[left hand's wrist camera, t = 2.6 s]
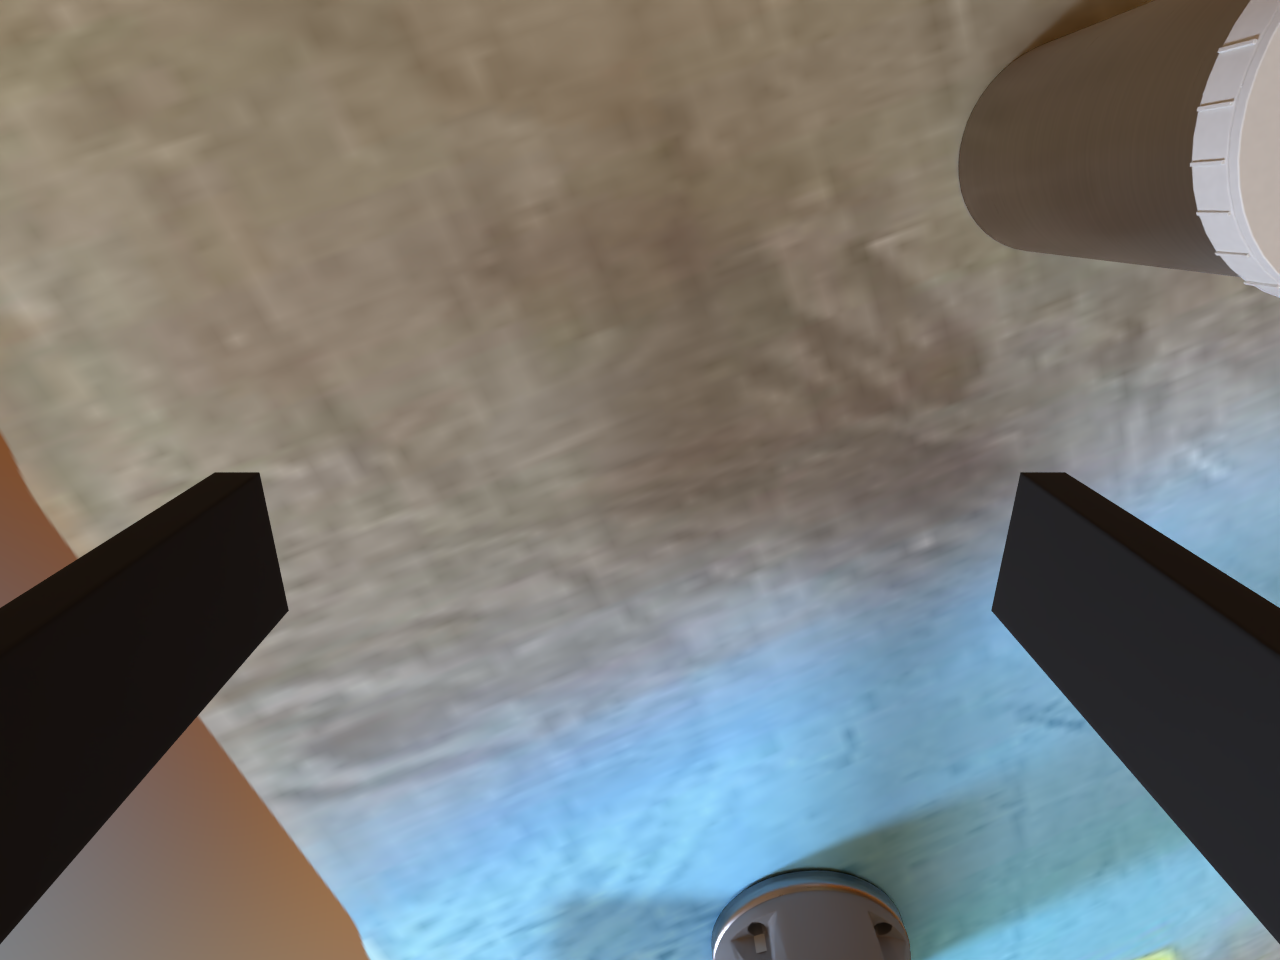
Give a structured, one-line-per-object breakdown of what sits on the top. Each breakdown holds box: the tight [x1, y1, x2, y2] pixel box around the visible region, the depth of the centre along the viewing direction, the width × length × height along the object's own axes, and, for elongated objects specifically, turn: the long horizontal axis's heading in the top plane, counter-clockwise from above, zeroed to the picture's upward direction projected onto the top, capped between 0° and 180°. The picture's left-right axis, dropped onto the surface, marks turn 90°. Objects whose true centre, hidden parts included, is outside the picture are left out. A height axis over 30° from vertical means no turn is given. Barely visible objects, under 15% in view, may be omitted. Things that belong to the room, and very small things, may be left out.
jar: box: [959, 0, 1250, 277], centre depth 27 cm, size 10×10×18 cm
